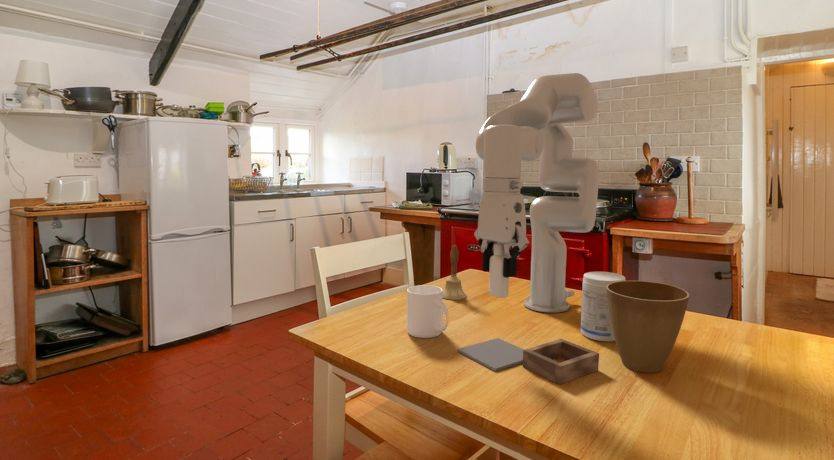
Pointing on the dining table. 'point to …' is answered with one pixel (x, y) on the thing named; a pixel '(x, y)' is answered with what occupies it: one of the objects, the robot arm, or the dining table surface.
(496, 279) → the eye dropper bottle
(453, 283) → the hand bell
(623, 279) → the supplement tub
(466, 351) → the coaster
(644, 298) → the plant pot
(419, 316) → the mug
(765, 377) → the dining table surface
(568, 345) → the box
